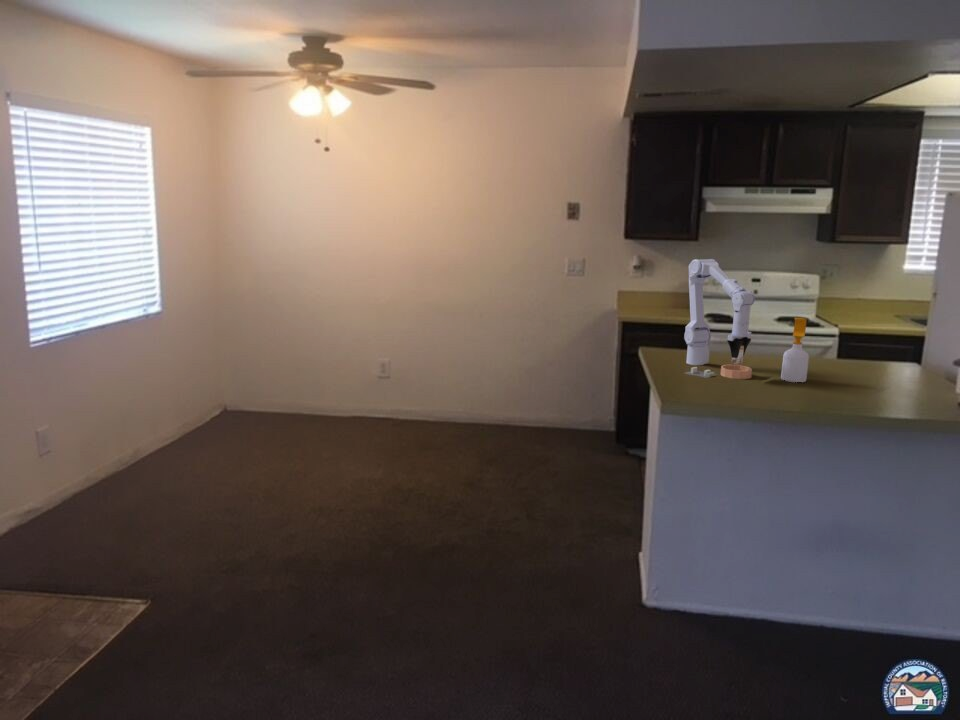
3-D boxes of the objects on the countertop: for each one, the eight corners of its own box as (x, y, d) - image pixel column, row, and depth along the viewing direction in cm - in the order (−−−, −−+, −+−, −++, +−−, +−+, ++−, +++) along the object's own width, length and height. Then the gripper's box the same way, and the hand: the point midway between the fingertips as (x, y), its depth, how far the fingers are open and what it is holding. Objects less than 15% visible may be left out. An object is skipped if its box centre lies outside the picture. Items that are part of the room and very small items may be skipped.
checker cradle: (694, 372, 289) (695, 365, 289) (717, 377, 282) (717, 369, 281) (683, 375, 284) (683, 368, 283) (706, 380, 277) (706, 372, 276)
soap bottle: (779, 381, 278) (786, 317, 273) (782, 376, 286) (789, 314, 281) (804, 384, 274) (812, 320, 269) (806, 379, 282) (814, 316, 277)
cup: (729, 373, 289) (730, 363, 289) (756, 378, 281) (757, 368, 281) (714, 377, 282) (715, 367, 281) (741, 382, 274) (742, 372, 273)
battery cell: (734, 361, 283) (735, 343, 282) (744, 363, 281) (745, 345, 279) (729, 362, 280) (731, 345, 279) (739, 364, 278) (741, 346, 276)
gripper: (741, 325, 269) (737, 361, 272) (760, 321, 279) (756, 356, 282) (723, 323, 274) (720, 358, 277) (742, 319, 284) (739, 353, 287)
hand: (737, 357), depth 280 cm, fingers closed on battery cell, 4 cm apart
